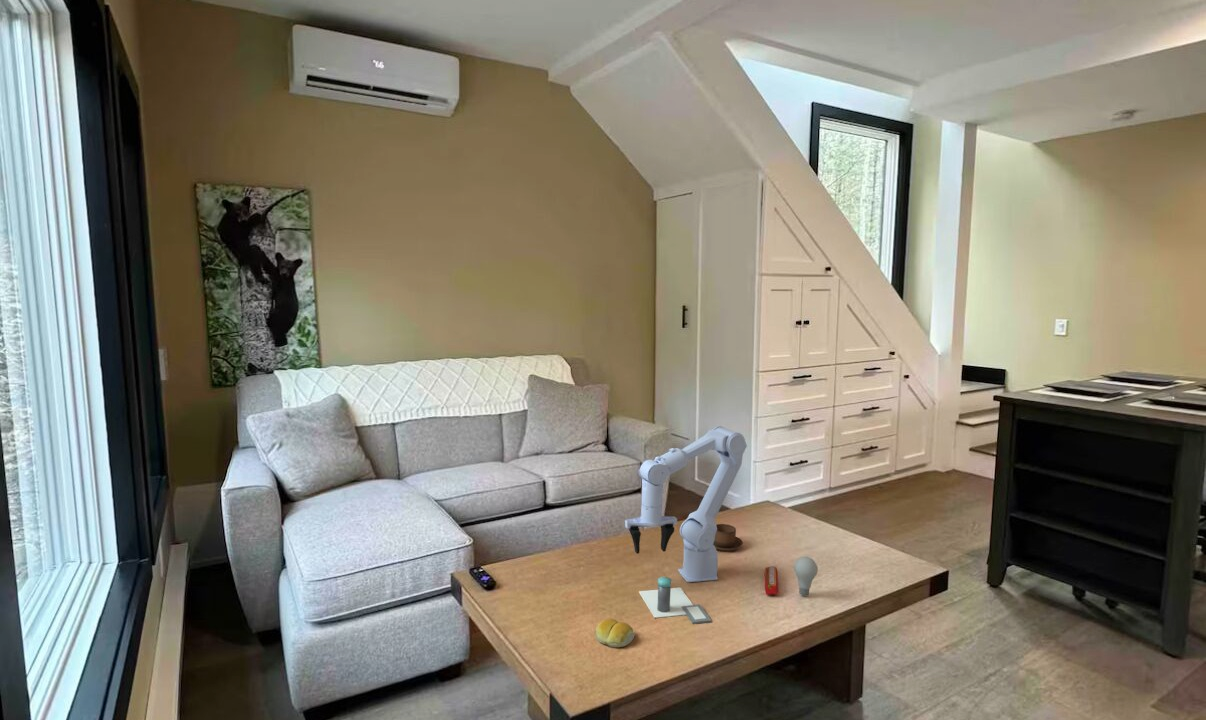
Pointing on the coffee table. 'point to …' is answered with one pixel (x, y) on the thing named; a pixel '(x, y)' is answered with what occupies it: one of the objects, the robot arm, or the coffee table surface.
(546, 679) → the coffee table surface
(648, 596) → the paper
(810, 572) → the lightbulb
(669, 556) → the coffee table surface
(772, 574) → the candy bar
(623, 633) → the bread roll
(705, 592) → the coffee table surface
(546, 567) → the coffee table surface
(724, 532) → the cup and saucer
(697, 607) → the picture frame
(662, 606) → the grey teal-capped tube
